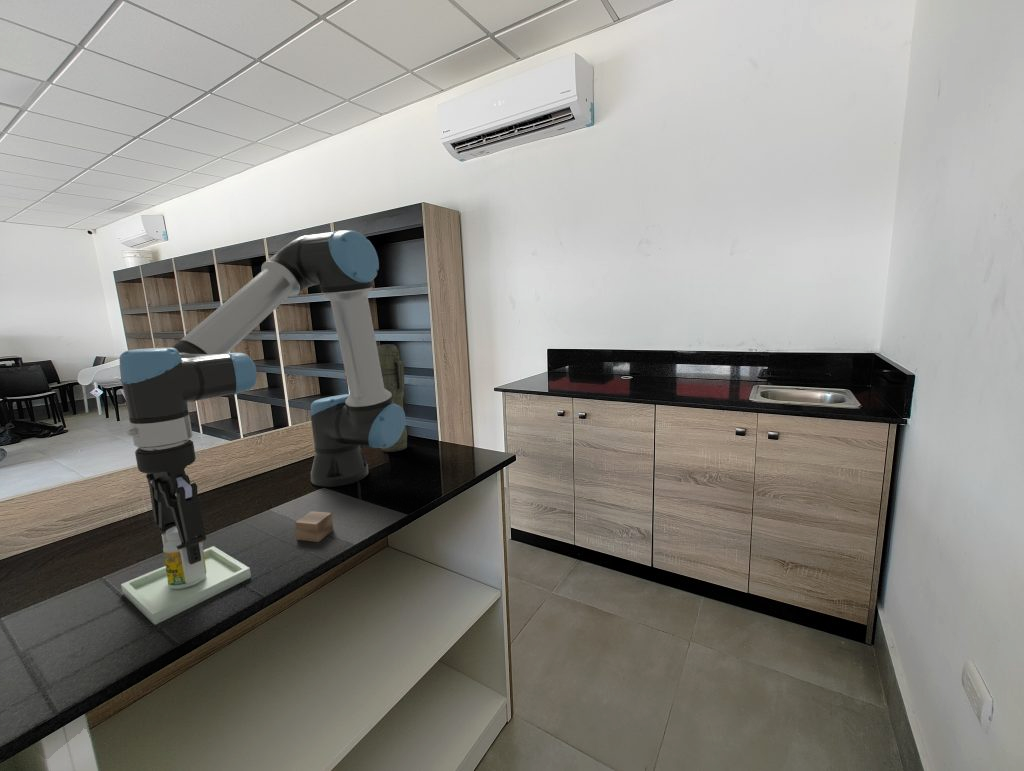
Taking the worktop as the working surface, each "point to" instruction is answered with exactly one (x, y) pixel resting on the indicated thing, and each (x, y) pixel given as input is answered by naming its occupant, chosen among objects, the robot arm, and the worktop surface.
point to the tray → (166, 602)
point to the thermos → (393, 384)
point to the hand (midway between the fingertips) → (186, 571)
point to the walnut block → (314, 526)
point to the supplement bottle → (176, 561)
